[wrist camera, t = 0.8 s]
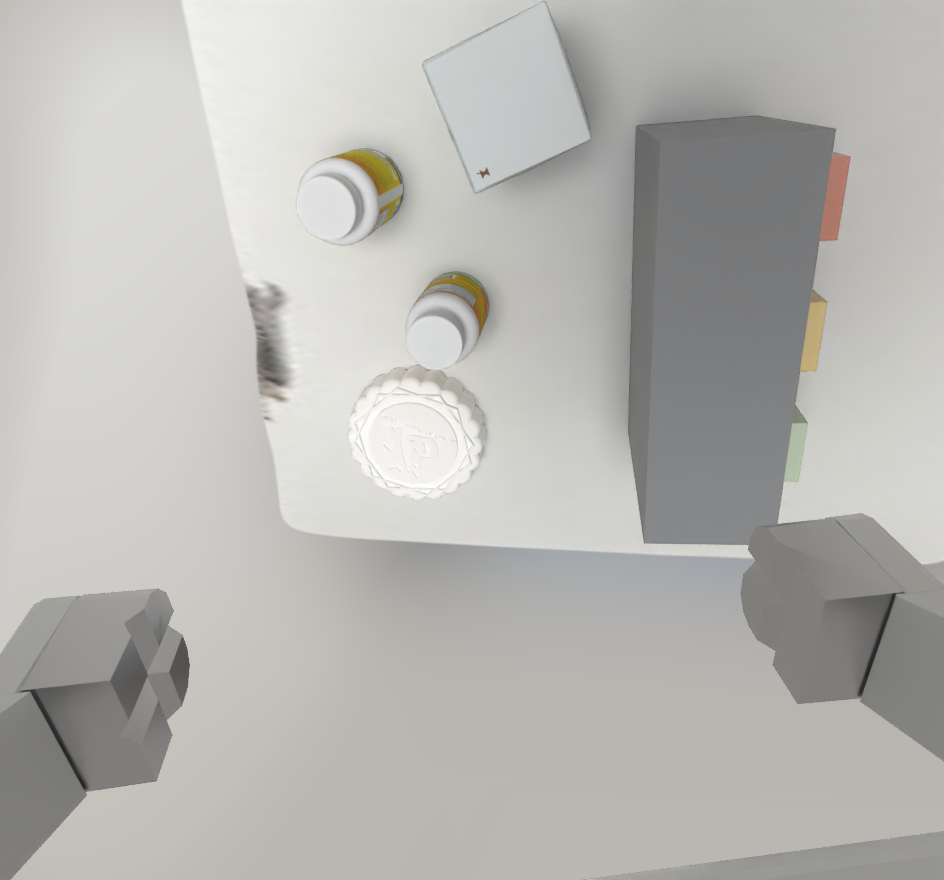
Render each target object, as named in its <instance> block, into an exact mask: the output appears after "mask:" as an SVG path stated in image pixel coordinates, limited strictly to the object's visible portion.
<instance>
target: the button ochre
mask: <svg viewBox="0 0 944 880" xmlns="http://www.w3.org/2000/svg"><path fill="white" fill-rule="evenodd" d="M826 306H827V301H825V300H824V299H823V298H822V297H821V296H820V295H819V294H817V293H816V292H815V291H814V290H813V289H812V293H811V300H810V307H809V314H808V320H807V327H806V334H805V341H804V347H803V354H802V361H801V368H800V372H807V371H816V369H817V363H818V357H819V350H820V344H821V338H822V332H823V325H824V319H825V313H826Z"/></svg>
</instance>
